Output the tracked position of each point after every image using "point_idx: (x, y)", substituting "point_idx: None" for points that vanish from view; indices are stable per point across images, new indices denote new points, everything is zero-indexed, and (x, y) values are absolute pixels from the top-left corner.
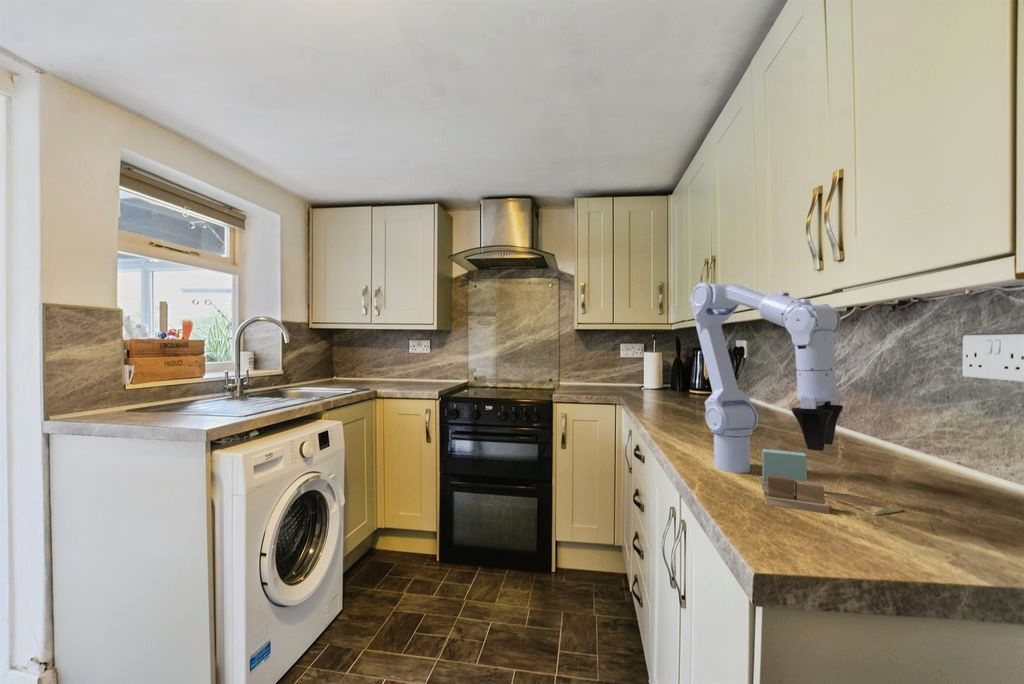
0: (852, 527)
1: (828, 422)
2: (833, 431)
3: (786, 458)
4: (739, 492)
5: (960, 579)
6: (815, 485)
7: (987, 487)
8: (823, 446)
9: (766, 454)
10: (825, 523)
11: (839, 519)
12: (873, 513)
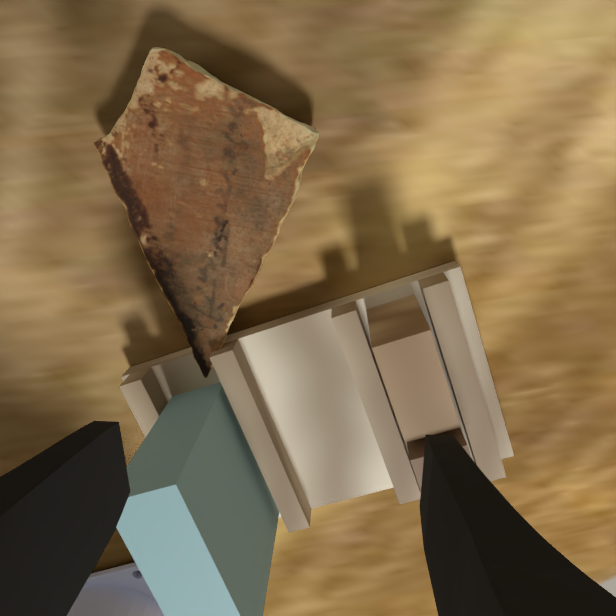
0: (461, 190)
1: (3, 574)
2: (56, 477)
3: (220, 544)
4: (349, 551)
5: None
6: (432, 361)
7: None
8: (462, 449)
9: None
10: (486, 271)
11: (398, 240)
12: (317, 138)
